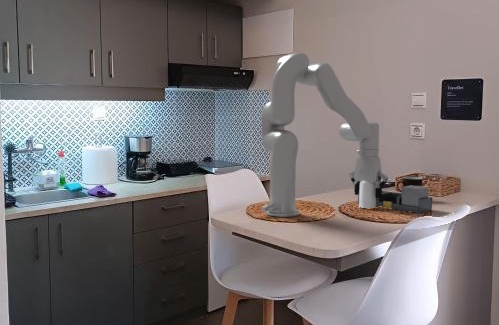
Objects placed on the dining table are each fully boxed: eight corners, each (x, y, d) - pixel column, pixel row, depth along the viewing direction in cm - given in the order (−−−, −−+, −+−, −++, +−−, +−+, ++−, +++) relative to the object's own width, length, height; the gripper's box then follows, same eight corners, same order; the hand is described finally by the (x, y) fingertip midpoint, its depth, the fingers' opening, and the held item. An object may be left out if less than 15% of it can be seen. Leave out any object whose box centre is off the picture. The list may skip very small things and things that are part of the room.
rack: (419, 213, 190) (420, 189, 189) (357, 203, 210) (358, 182, 209) (431, 210, 196) (432, 187, 195) (370, 201, 216) (371, 180, 215)
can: (371, 210, 196) (372, 180, 195) (356, 208, 200) (357, 178, 199) (378, 207, 201) (379, 178, 200) (363, 206, 205) (364, 177, 204)
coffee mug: (419, 199, 223) (420, 176, 222) (424, 202, 214) (425, 179, 213) (392, 198, 224) (393, 176, 223) (396, 201, 215) (397, 178, 214)
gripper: (345, 152, 202) (344, 194, 204) (383, 155, 190) (381, 199, 191) (355, 151, 207) (354, 192, 209) (393, 154, 195) (391, 197, 196)
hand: (367, 195), depth 200 cm, fingers open, 9 cm apart
